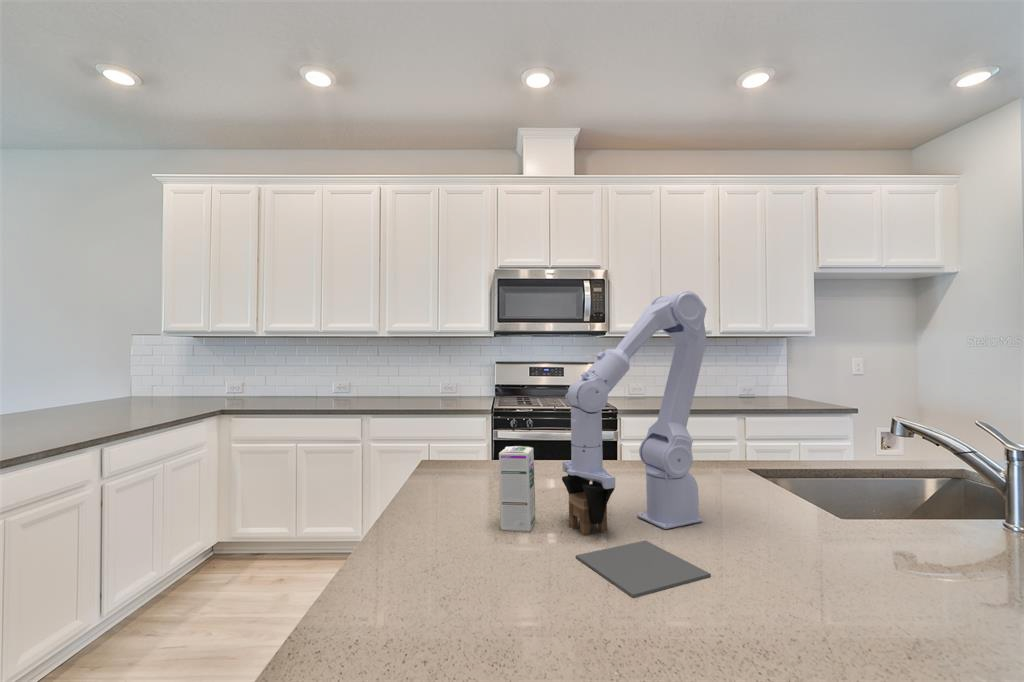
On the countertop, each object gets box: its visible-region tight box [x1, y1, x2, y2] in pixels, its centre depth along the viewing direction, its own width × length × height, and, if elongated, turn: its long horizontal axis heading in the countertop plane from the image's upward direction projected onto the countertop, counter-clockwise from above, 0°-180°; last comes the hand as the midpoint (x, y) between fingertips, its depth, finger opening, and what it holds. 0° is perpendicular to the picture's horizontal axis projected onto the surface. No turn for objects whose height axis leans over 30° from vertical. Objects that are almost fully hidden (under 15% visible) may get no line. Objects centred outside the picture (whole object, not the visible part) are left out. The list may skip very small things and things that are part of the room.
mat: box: [575, 540, 712, 599], centre depth 73 cm, size 14×14×1 cm
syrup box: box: [498, 445, 536, 533], centre depth 91 cm, size 6×6×14 cm
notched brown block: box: [568, 492, 608, 536], centre depth 89 cm, size 5×5×6 cm
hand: (587, 518), depth 89 cm, fingers closed on notched brown block, 5 cm apart
